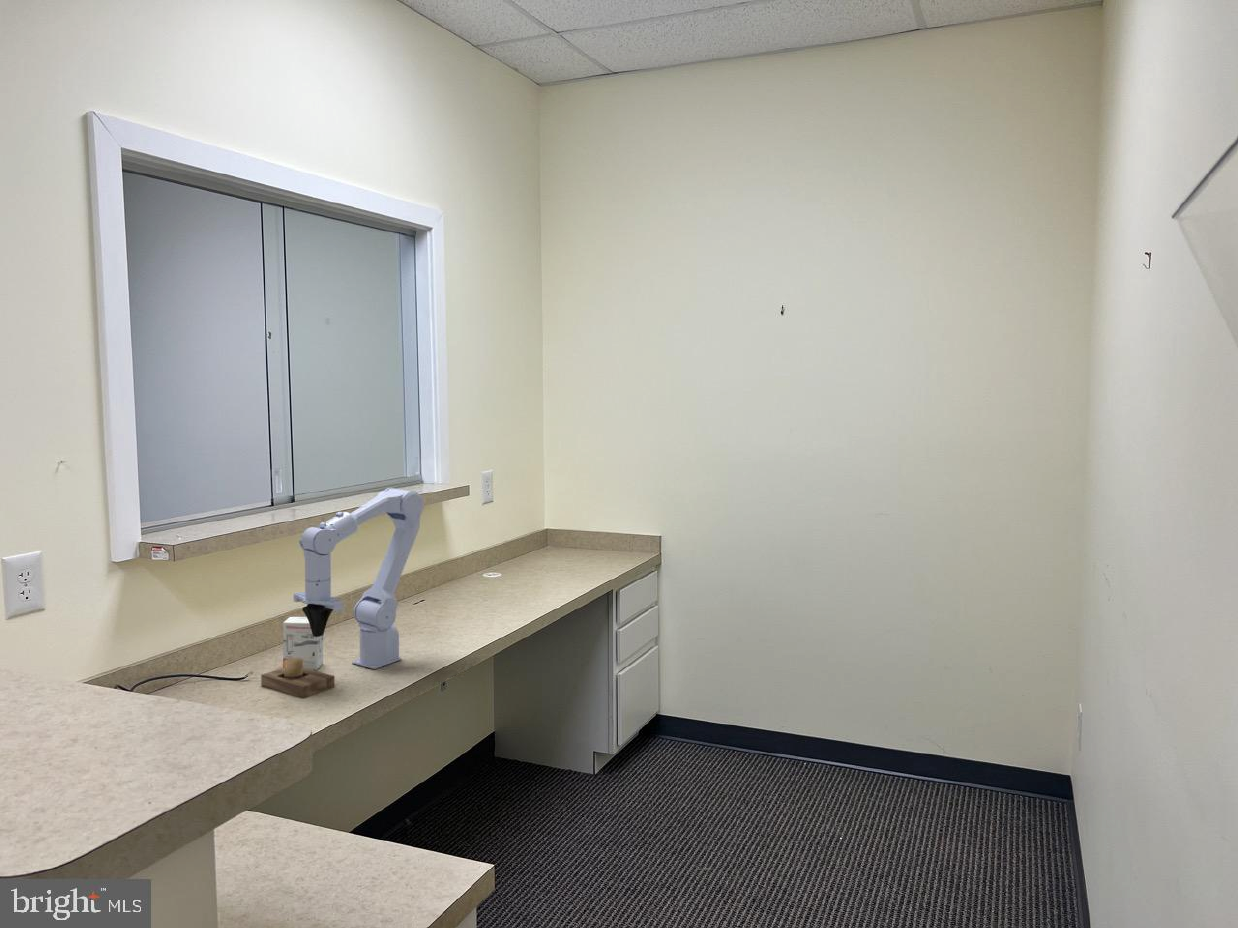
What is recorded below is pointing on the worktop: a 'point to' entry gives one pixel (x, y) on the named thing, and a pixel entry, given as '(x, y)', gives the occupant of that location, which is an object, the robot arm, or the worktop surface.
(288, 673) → the peg
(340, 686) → the worktop surface
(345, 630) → the worktop surface
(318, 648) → the ink box
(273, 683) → the board
